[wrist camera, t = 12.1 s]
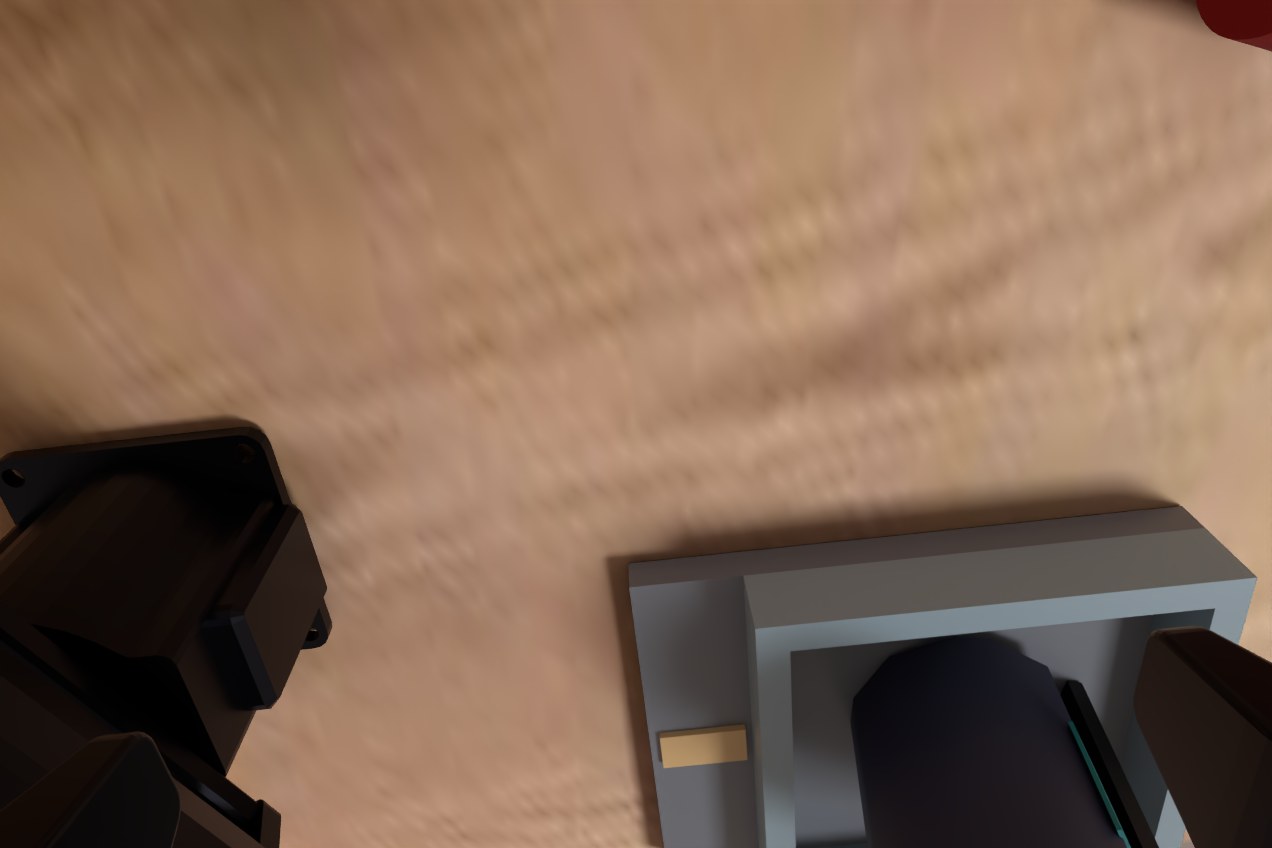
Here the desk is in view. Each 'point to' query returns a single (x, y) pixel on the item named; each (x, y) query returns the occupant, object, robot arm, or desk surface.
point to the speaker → (986, 756)
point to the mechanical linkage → (1239, 20)
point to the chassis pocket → (891, 624)
